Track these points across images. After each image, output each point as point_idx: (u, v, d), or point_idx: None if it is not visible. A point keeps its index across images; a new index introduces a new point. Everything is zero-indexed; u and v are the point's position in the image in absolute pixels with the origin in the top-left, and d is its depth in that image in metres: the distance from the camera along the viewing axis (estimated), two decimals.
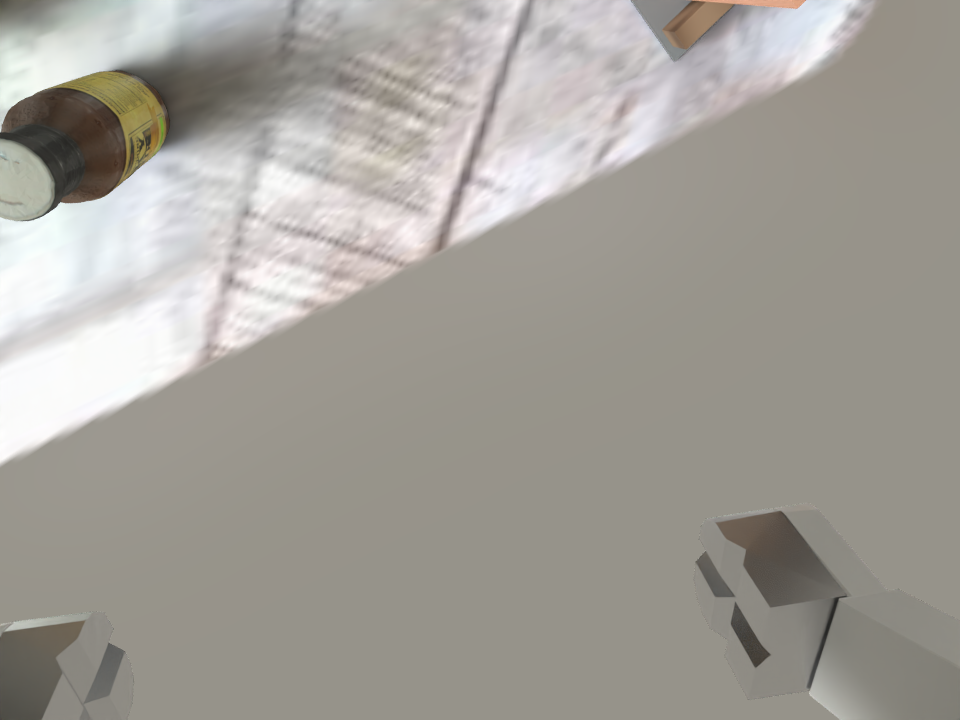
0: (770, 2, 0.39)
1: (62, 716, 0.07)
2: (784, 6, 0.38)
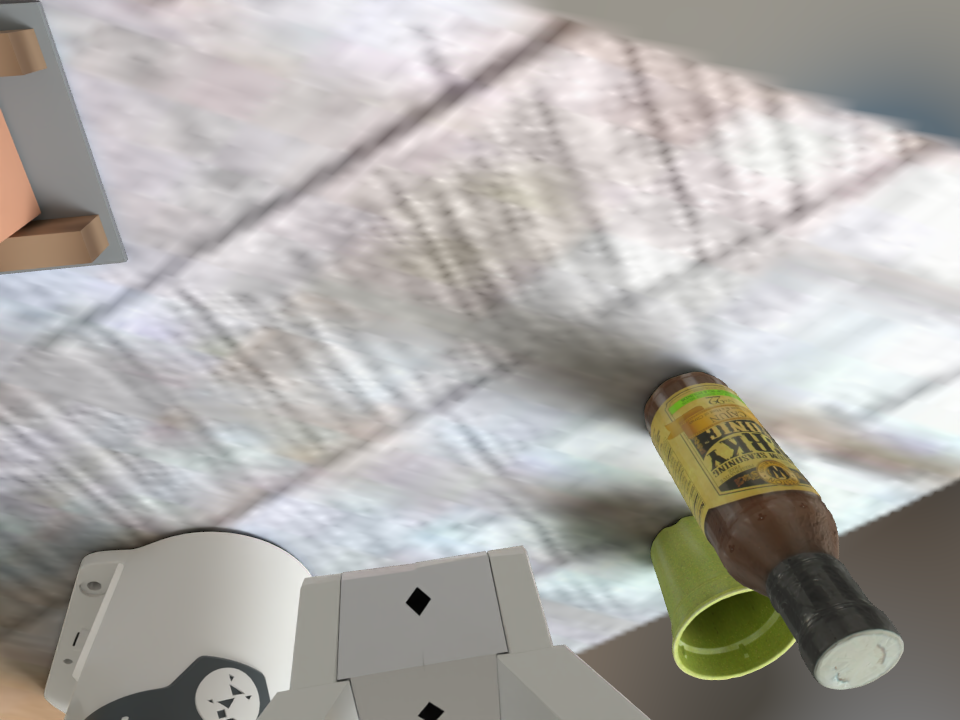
0: None
1: None
2: None
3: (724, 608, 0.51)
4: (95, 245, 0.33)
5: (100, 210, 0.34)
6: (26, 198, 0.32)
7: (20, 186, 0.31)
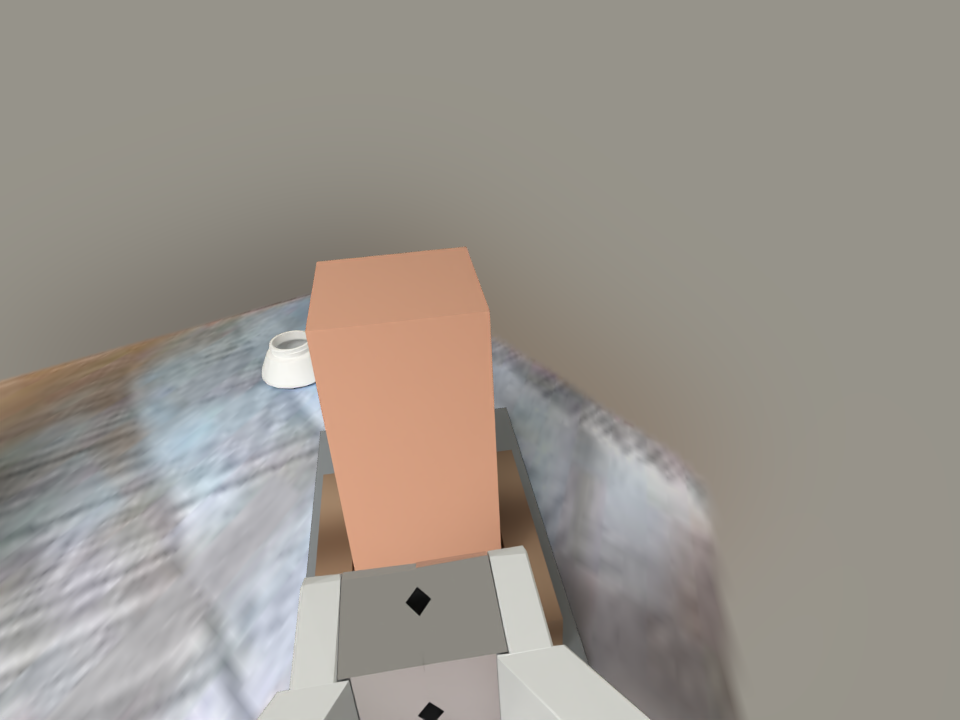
0: (483, 377, 0.23)
1: None
2: (488, 343, 0.23)
3: None
4: None
5: None
6: None
7: None
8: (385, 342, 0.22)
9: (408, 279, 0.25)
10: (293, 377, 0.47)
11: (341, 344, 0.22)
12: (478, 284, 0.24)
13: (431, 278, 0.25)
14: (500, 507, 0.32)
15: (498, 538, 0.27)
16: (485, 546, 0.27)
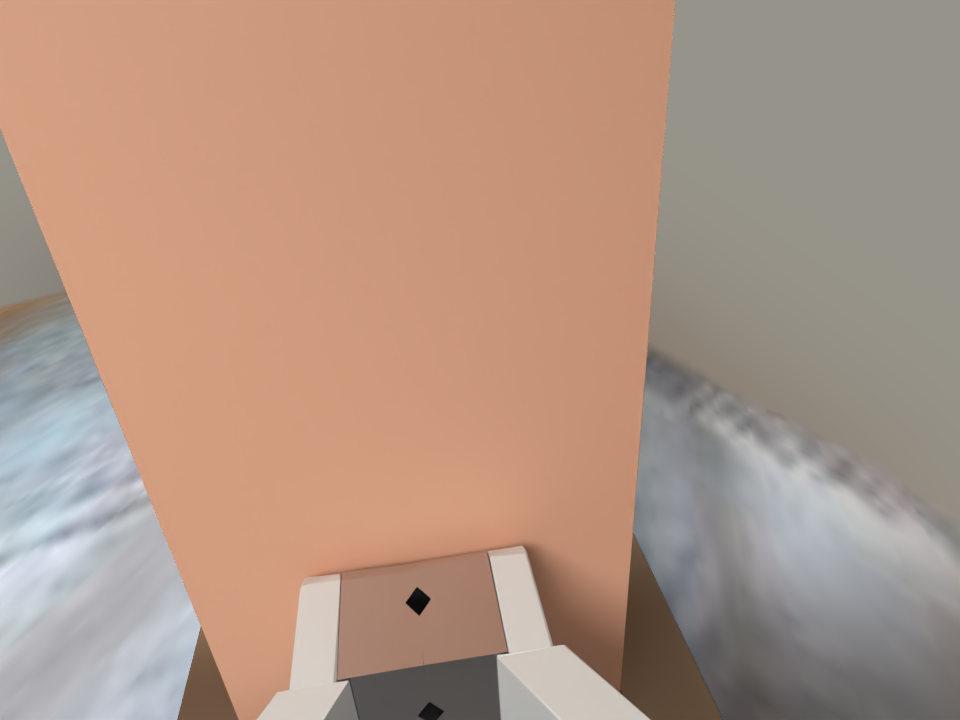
0: (632, 168, 0.07)
1: None
2: (664, 20, 0.06)
3: None
4: None
5: None
6: None
7: None
8: None
9: None
10: None
11: None
12: None
13: None
14: None
15: (617, 657, 0.11)
16: None
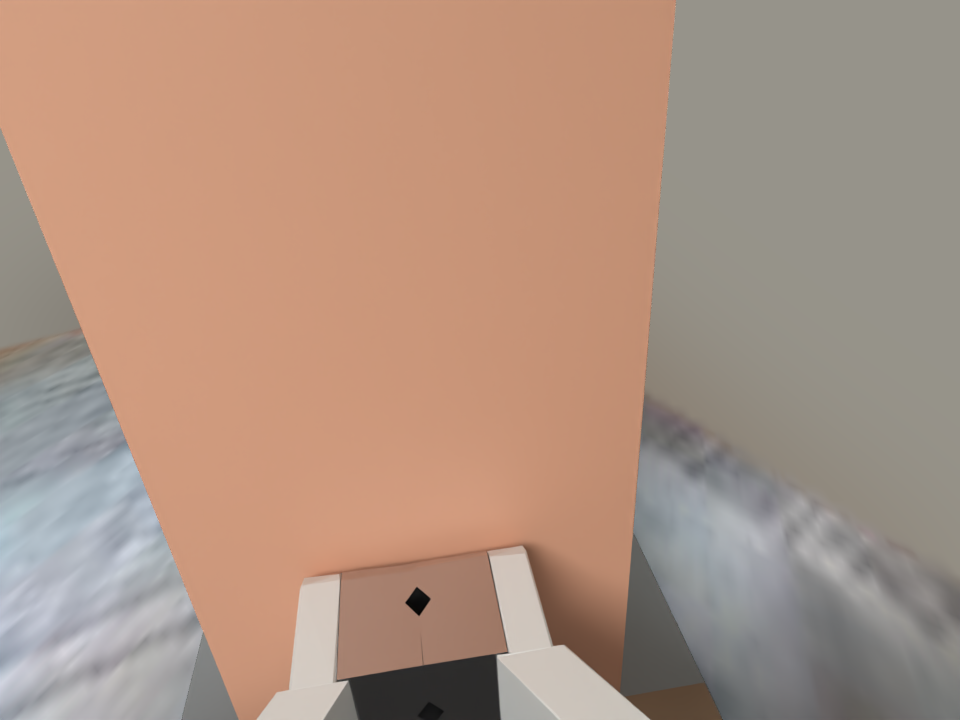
0: (632, 168, 0.07)
1: None
2: (664, 20, 0.06)
3: None
4: None
5: None
6: None
7: None
8: None
9: None
10: None
11: None
12: None
13: None
14: None
15: (617, 657, 0.11)
16: None
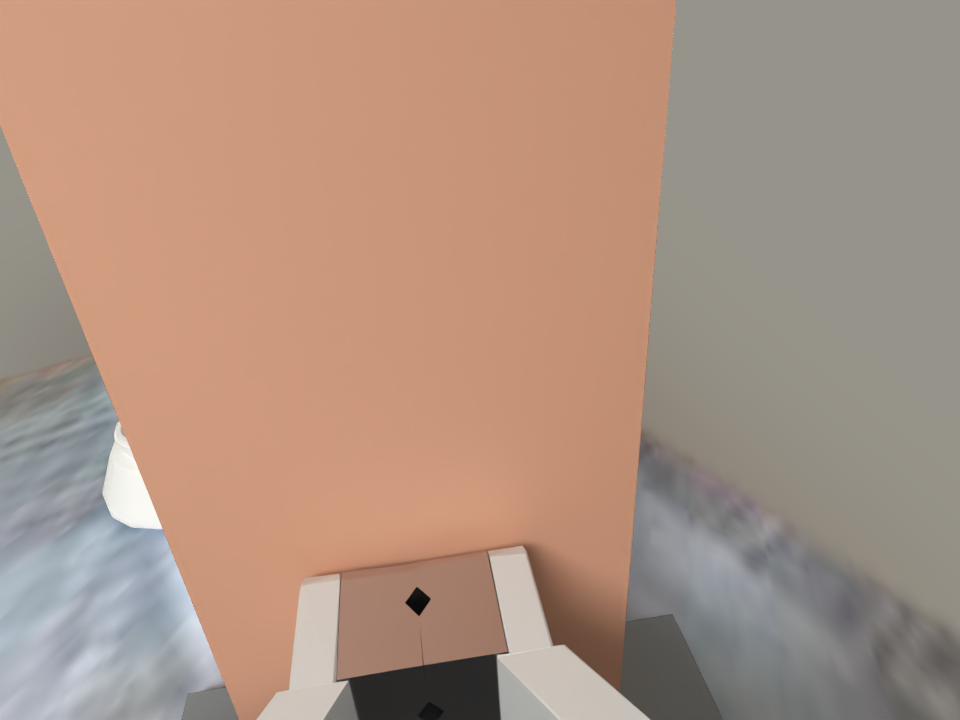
0: (632, 168, 0.07)
1: None
2: (665, 20, 0.06)
3: None
4: None
5: None
6: None
7: None
8: None
9: None
10: None
11: None
12: None
13: None
14: None
15: (617, 657, 0.11)
16: None
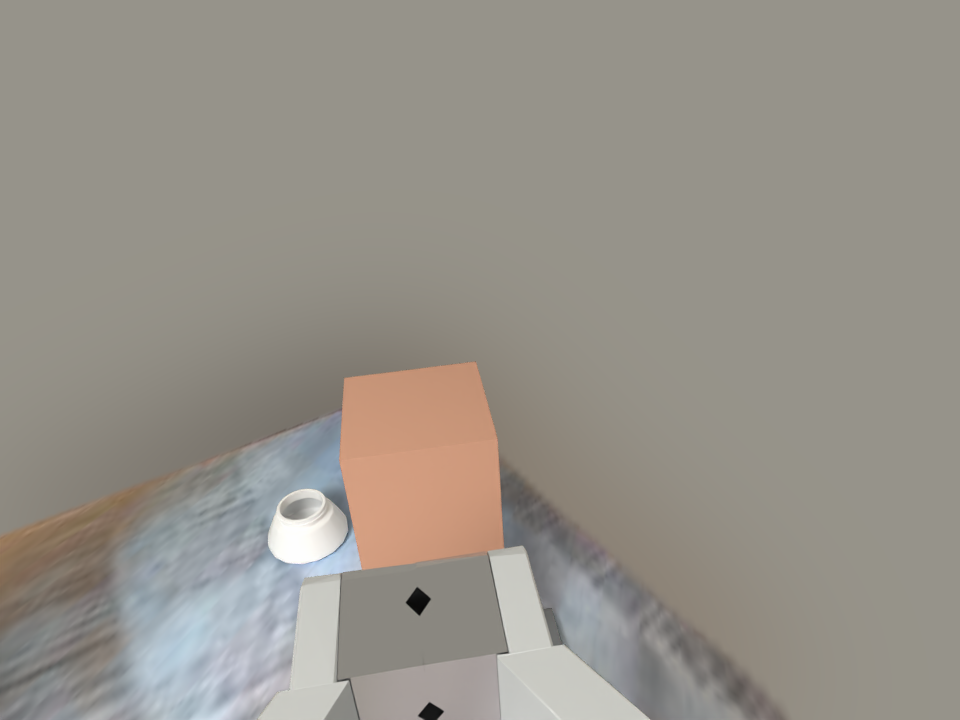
0: (492, 490, 0.27)
1: None
2: (496, 464, 0.26)
3: None
4: None
5: None
6: None
7: None
8: (407, 466, 0.26)
9: (426, 400, 0.28)
10: (304, 552, 0.41)
11: (369, 469, 0.25)
12: (487, 407, 0.27)
13: (446, 400, 0.28)
14: None
15: None
16: None
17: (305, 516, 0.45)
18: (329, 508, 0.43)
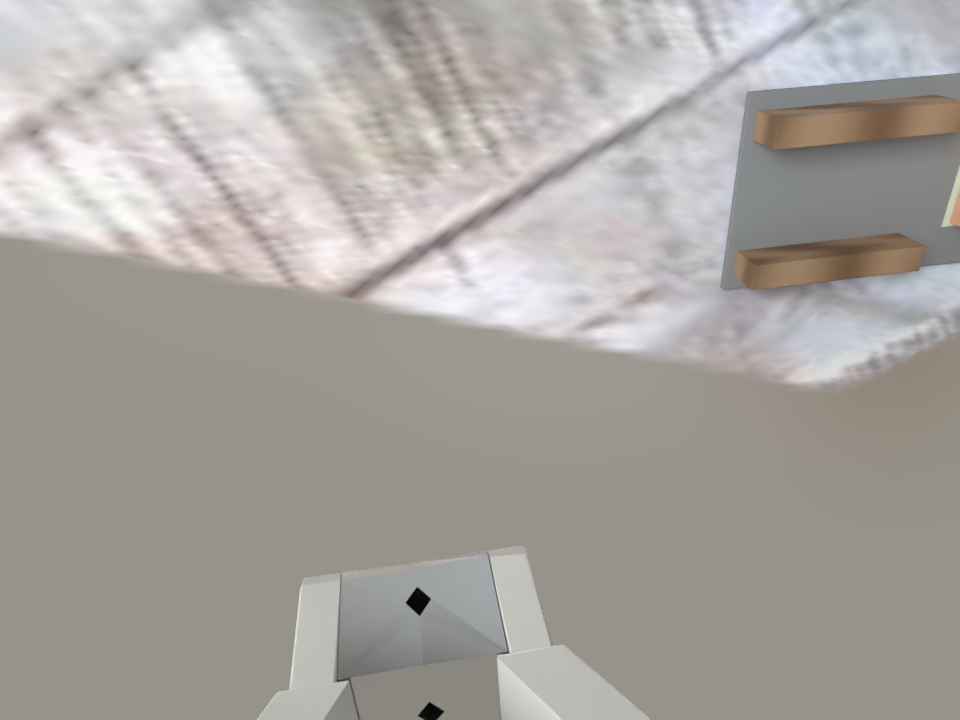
0: None
1: None
2: None
3: None
4: (768, 125, 0.37)
5: (749, 143, 0.39)
6: None
7: None
8: None
9: None
10: None
11: None
12: None
13: None
14: (860, 257, 0.41)
15: None
16: None
17: None
18: None
